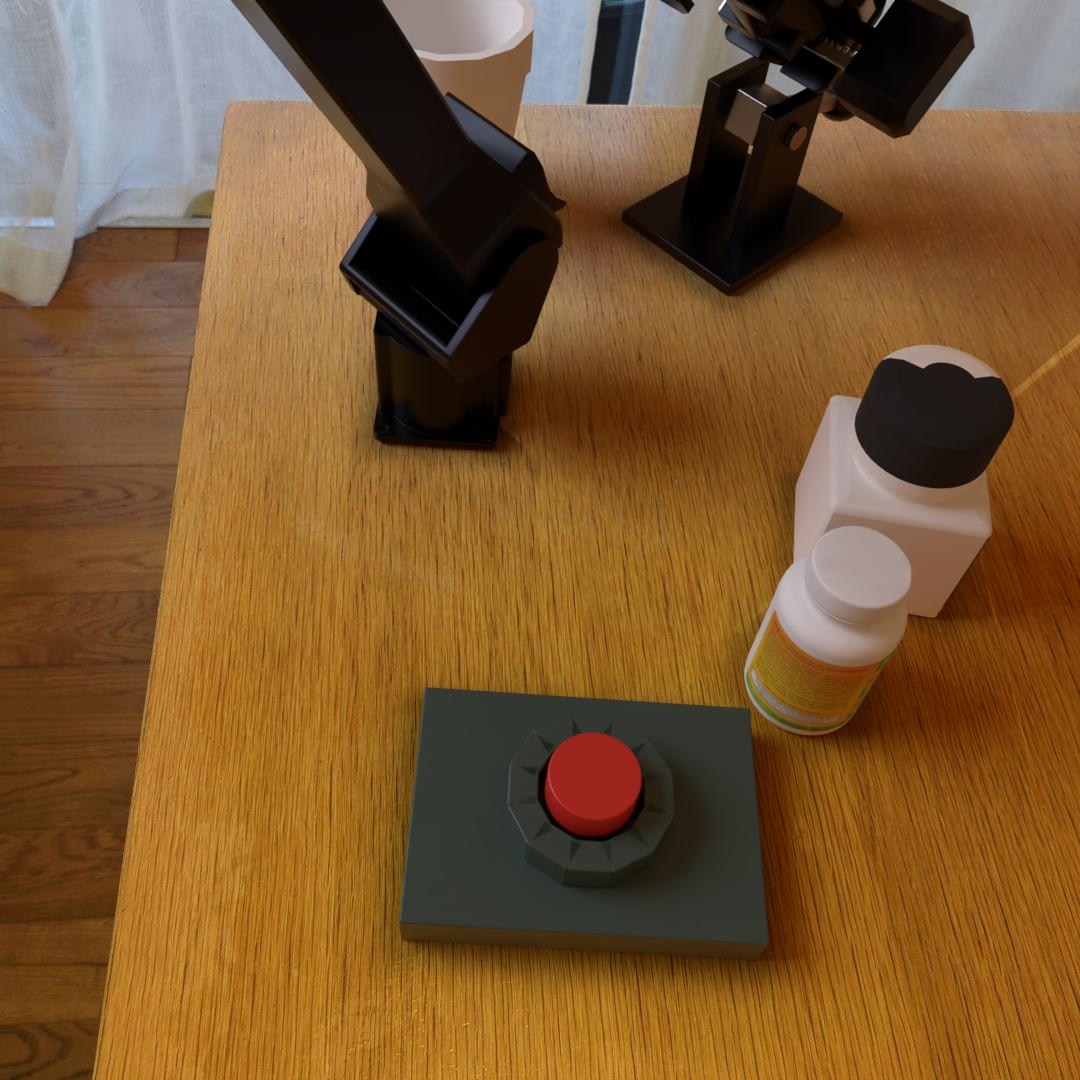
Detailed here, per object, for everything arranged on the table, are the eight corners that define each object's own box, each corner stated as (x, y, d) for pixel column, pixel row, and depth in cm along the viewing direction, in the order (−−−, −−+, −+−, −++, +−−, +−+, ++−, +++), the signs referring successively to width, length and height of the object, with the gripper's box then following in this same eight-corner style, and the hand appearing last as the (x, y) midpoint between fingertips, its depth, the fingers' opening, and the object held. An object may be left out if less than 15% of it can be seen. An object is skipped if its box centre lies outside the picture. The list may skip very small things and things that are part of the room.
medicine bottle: (937, 621, 54) (1044, 461, 44) (790, 596, 54) (865, 432, 45) (929, 507, 58) (1026, 338, 49) (793, 485, 58) (863, 312, 49)
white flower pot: (382, 162, 72) (371, -40, 62) (525, 173, 73) (538, -26, 62) (363, 257, 67) (347, 53, 56) (517, 269, 67) (529, 68, 57)
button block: (400, 940, 43) (396, 906, 40) (425, 710, 49) (424, 665, 46) (756, 961, 44) (781, 929, 41) (739, 730, 50) (759, 687, 47)
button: (542, 834, 43) (546, 816, 41) (545, 748, 45) (549, 728, 43) (636, 840, 43) (643, 823, 41) (635, 754, 45) (641, 734, 43)
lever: (825, 105, 73) (844, 59, 71) (861, 127, 71) (882, 81, 69) (716, 130, 65) (734, 79, 63) (754, 154, 64) (775, 104, 62)
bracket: (734, 161, 75) (768, 20, 67) (839, 229, 72) (888, 89, 64) (619, 225, 70) (641, 82, 62) (726, 302, 67) (763, 160, 59)
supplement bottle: (856, 750, 50) (933, 636, 42) (736, 724, 50) (790, 607, 42) (860, 648, 53) (932, 525, 45) (747, 625, 53) (799, 498, 45)
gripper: (1038, -155, 48) (1057, 17, 61) (714, -296, 55) (796, -114, 69) (870, 76, 50) (925, 191, 64) (583, -88, 58) (688, 47, 72)
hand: (832, 70), depth 67 cm, fingers closed
